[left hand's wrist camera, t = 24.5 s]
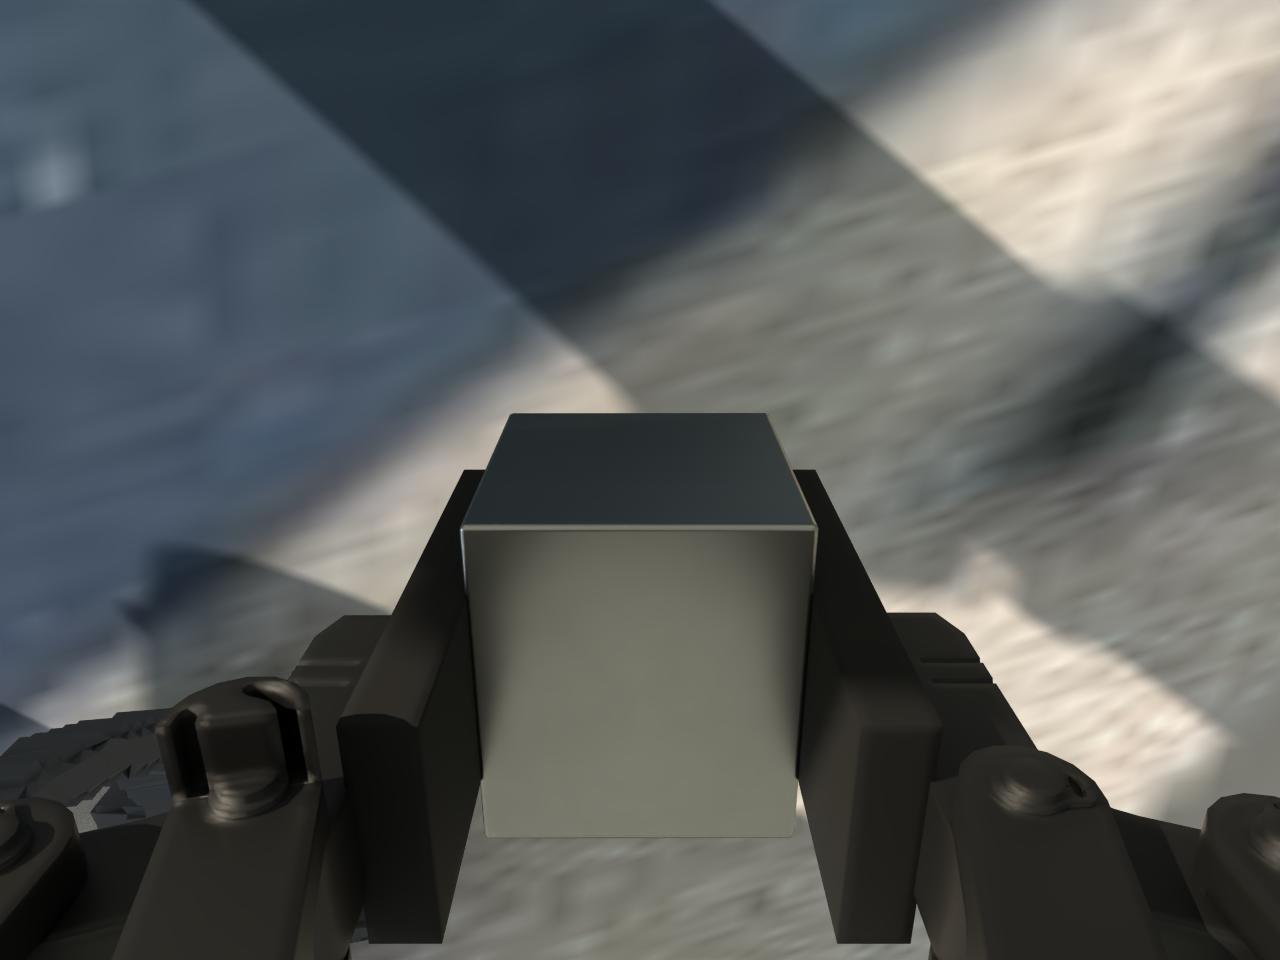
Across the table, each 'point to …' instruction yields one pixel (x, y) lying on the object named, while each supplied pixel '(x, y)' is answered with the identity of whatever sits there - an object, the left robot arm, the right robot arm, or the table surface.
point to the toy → (99, 771)
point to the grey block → (639, 626)
